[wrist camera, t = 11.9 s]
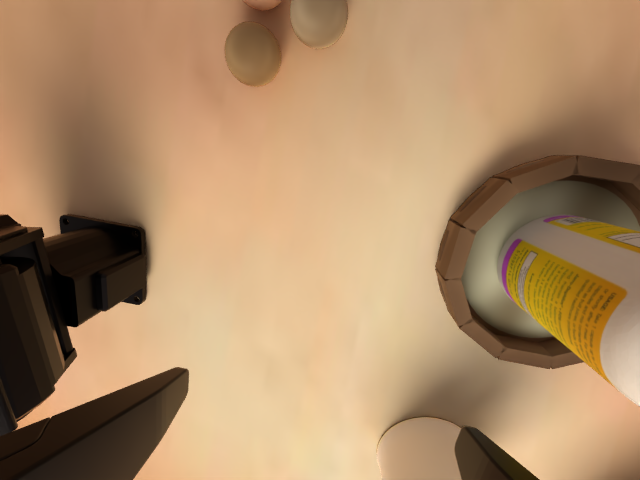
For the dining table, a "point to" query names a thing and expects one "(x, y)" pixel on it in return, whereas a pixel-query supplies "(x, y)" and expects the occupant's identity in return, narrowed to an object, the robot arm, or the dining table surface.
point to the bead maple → (318, 21)
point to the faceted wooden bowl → (497, 227)
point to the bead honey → (252, 54)
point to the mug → (419, 450)
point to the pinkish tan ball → (262, 4)
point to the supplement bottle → (581, 290)
